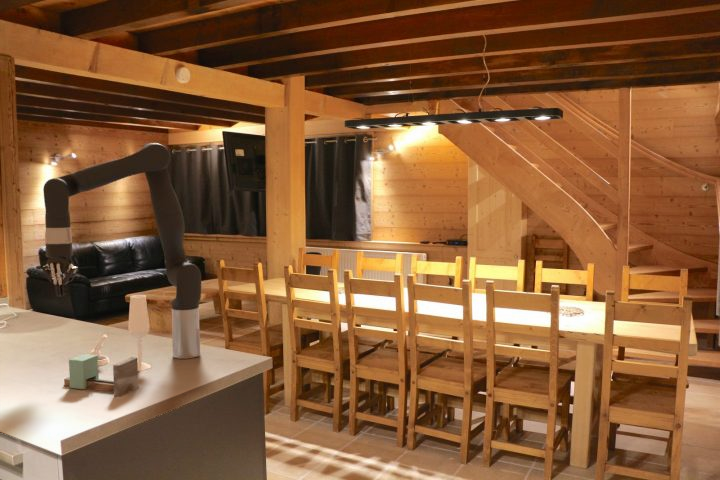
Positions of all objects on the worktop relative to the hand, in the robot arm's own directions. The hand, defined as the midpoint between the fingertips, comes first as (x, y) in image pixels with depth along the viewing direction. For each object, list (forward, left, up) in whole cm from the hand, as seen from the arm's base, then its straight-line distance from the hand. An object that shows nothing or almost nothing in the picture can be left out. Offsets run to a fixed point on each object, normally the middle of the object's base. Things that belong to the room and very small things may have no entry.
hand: (61, 295), depth 186 cm
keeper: (-8, +16, -25) cm, 31 cm away
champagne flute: (-23, +2, -25) cm, 34 cm away
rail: (-12, +19, -25) cm, 34 cm away
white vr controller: (-9, -8, -25) cm, 28 cm away
